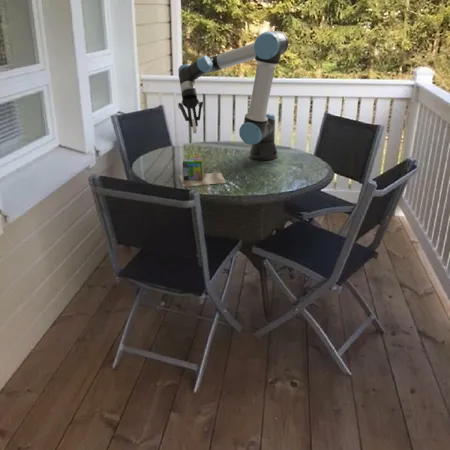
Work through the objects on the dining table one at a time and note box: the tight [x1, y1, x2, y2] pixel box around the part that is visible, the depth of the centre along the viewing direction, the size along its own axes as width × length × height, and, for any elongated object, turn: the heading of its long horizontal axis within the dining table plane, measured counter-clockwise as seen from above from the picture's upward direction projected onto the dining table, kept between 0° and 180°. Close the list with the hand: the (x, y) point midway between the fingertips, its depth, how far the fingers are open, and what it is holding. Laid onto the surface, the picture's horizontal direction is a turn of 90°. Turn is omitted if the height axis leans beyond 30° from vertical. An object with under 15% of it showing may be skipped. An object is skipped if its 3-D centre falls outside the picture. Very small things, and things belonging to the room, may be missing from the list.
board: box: [179, 172, 227, 188], centre depth 240 cm, size 20×16×1 cm
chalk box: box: [182, 154, 206, 180], centre depth 240 cm, size 9×9×15 cm
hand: (194, 131), depth 252 cm, fingers closed
